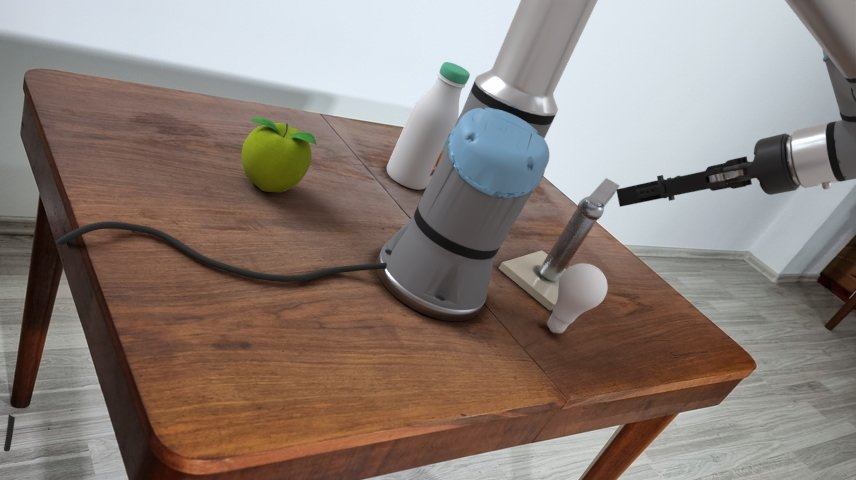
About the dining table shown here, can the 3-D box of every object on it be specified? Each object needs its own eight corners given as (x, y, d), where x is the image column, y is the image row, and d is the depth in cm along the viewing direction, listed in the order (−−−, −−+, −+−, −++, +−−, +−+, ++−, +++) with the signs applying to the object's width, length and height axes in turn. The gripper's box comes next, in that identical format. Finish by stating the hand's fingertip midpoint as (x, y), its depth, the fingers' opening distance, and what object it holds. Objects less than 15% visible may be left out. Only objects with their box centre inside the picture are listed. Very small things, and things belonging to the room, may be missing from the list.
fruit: (286, 213, 96) (309, 149, 90) (224, 184, 96) (243, 118, 91) (306, 188, 104) (329, 128, 98) (249, 161, 104) (268, 99, 98)
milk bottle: (415, 195, 115) (469, 82, 105) (377, 171, 117) (426, 58, 107) (434, 184, 122) (486, 77, 111) (397, 162, 124) (445, 54, 113)
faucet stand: (549, 310, 101) (553, 304, 100) (498, 268, 106) (501, 262, 105) (587, 294, 109) (591, 288, 109) (538, 255, 114) (542, 250, 113)
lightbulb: (579, 339, 98) (624, 278, 92) (559, 351, 93) (604, 287, 87) (545, 311, 100) (586, 250, 94) (524, 322, 96) (565, 258, 90)
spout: (555, 285, 105) (606, 208, 97) (534, 272, 106) (582, 194, 98) (580, 252, 118) (626, 182, 110) (561, 241, 119) (605, 170, 111)
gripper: (787, 194, 87) (606, 227, 104) (812, 184, 96) (642, 216, 113) (776, 134, 87) (596, 176, 104) (802, 130, 96) (632, 170, 113)
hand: (620, 197), depth 108 cm, fingers closed
